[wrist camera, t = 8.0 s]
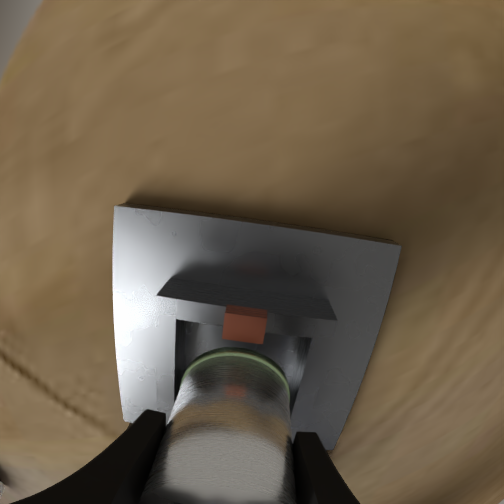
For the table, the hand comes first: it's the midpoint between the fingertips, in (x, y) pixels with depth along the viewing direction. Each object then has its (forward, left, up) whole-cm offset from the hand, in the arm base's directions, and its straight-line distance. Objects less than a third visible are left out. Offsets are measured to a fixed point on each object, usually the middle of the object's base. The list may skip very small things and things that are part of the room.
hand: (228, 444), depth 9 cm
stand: (0, 0, -6) cm, 6 cm away
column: (0, 0, -3) cm, 3 cm away
